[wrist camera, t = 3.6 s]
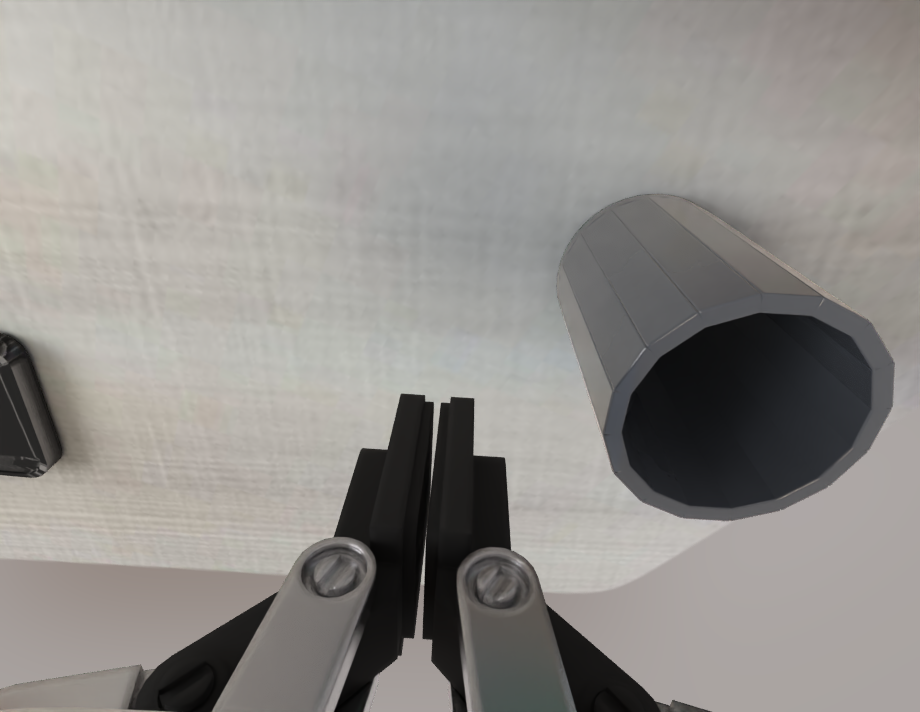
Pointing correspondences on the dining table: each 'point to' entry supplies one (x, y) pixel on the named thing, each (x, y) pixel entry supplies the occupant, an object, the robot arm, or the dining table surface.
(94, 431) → the dining table surface
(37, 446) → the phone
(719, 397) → the cup
